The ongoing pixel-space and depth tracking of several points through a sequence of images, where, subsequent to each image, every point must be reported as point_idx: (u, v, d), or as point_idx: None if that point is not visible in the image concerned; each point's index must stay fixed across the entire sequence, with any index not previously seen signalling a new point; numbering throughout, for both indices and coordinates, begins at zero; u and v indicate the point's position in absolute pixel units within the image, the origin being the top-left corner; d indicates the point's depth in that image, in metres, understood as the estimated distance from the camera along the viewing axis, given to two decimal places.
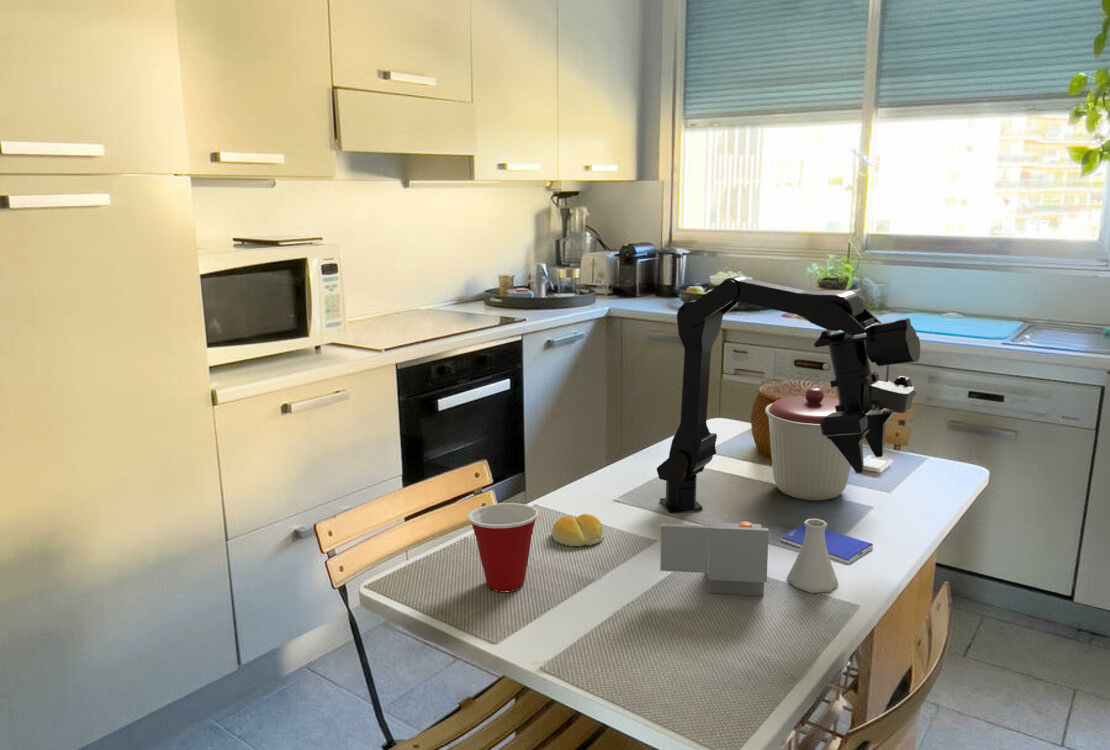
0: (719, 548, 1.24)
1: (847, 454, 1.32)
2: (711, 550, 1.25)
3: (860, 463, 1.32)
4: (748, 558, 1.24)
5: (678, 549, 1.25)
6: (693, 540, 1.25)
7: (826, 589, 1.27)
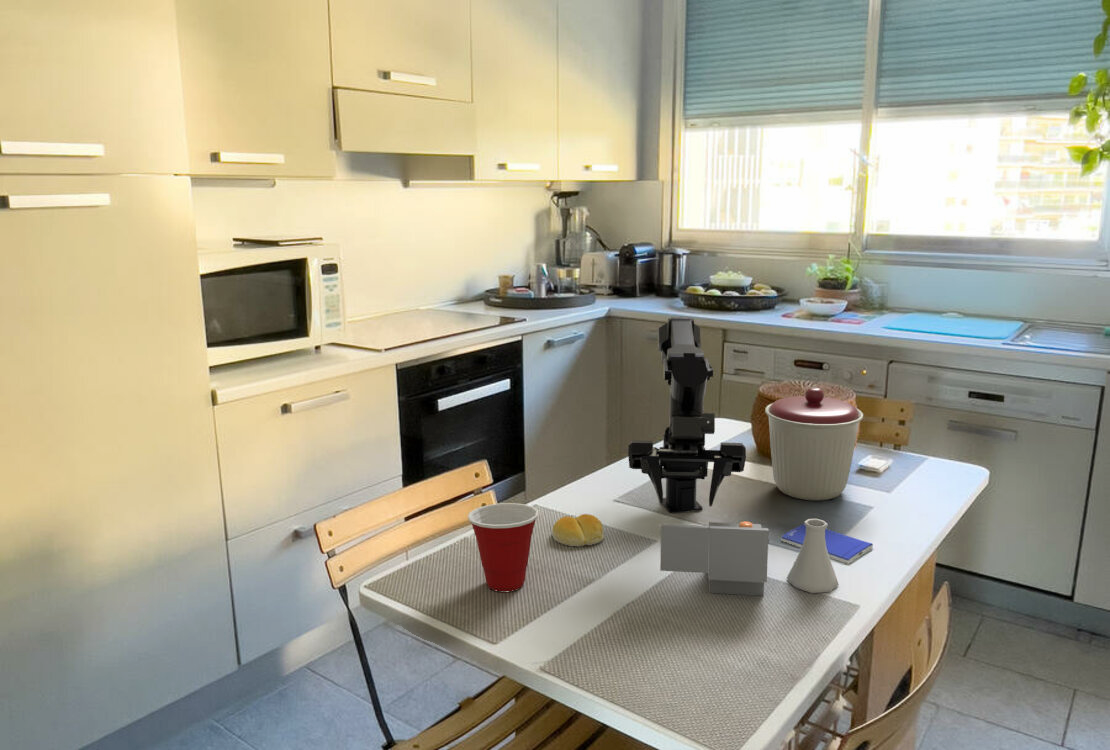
0: (719, 548, 1.24)
1: (654, 486, 1.37)
2: (711, 550, 1.25)
3: (657, 492, 1.35)
4: (748, 558, 1.24)
5: (678, 549, 1.25)
6: (693, 540, 1.25)
7: (826, 589, 1.27)
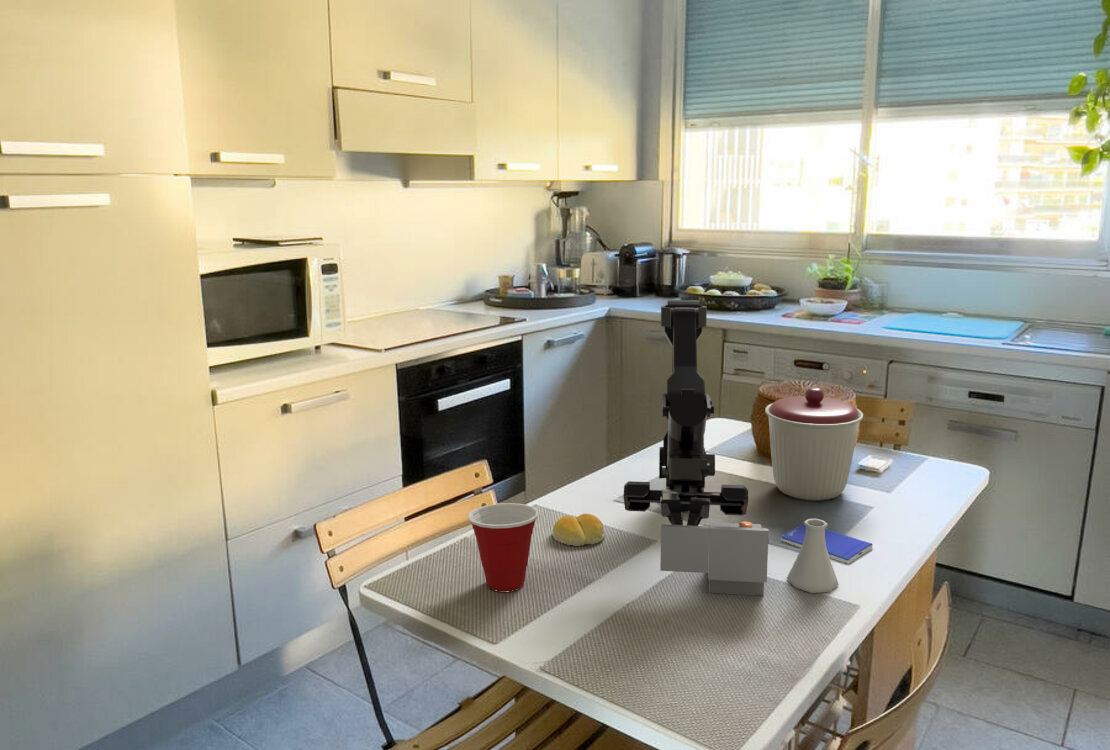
0: (719, 548, 1.24)
1: None
2: (711, 550, 1.25)
3: None
4: (748, 558, 1.24)
5: (678, 549, 1.25)
6: (693, 540, 1.25)
7: (826, 589, 1.27)
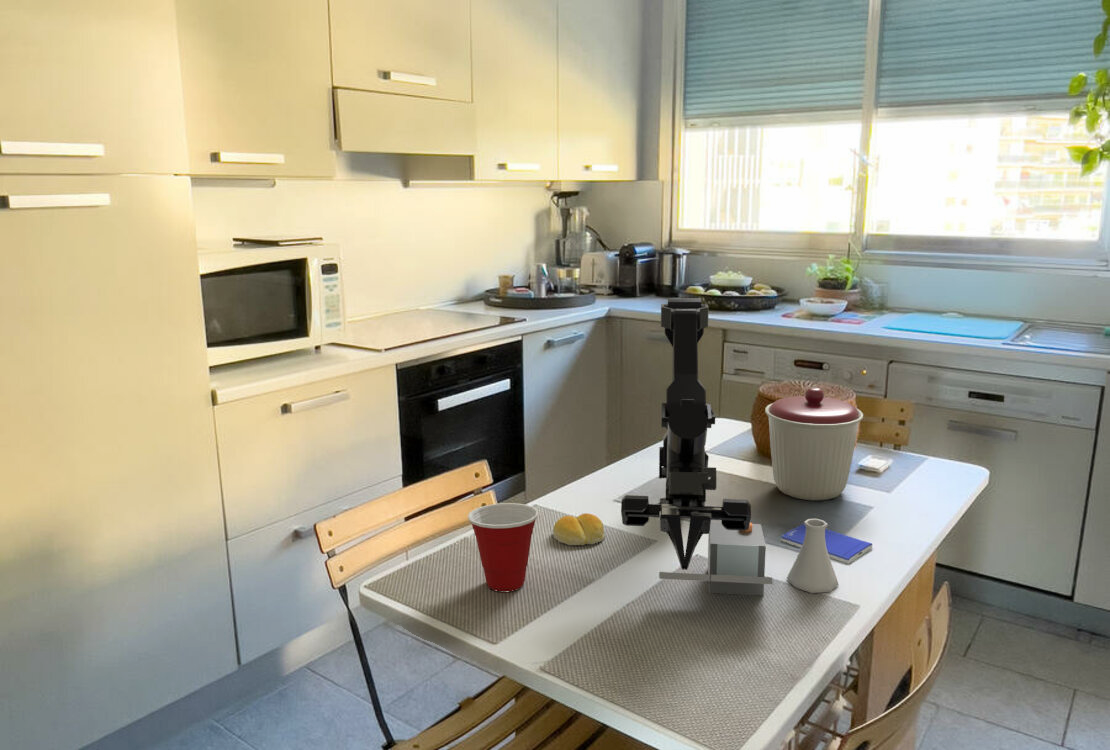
0: None
1: (675, 548, 1.24)
2: None
3: (678, 556, 1.22)
4: None
5: None
6: None
7: (826, 589, 1.27)
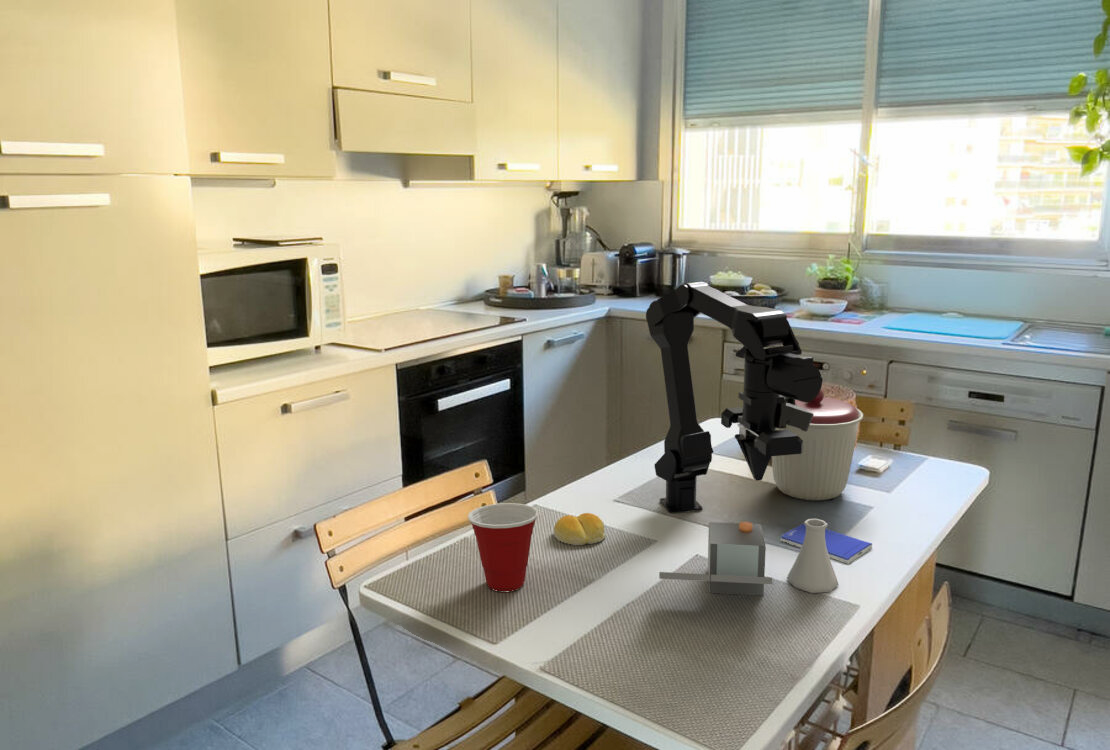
0: None
1: (756, 464, 1.38)
2: None
3: (764, 471, 1.39)
4: None
5: None
6: None
7: (826, 589, 1.27)
